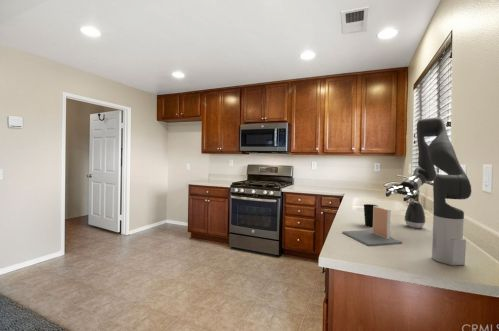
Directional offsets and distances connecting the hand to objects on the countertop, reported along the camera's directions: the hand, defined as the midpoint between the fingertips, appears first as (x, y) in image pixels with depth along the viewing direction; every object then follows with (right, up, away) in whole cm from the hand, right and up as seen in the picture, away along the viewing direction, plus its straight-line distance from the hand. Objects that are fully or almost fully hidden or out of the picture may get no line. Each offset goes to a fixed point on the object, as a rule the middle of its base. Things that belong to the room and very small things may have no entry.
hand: (395, 197), depth 127 cm
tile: (-8, -19, -2) cm, 21 cm away
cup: (-3, -19, +20) cm, 28 cm away
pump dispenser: (+22, -20, +19) cm, 35 cm away
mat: (-14, -20, -3) cm, 24 cm away
